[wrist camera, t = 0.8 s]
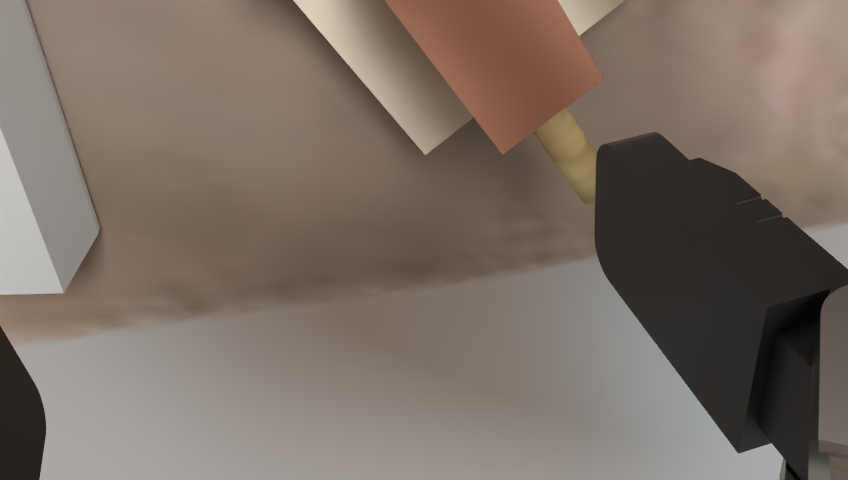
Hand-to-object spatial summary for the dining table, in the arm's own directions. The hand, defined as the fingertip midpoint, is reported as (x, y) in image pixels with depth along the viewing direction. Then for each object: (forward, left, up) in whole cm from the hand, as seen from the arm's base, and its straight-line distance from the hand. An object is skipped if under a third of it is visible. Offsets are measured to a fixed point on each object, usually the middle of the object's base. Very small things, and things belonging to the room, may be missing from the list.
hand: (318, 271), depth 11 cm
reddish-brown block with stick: (-5, +8, -19) cm, 21 cm away
